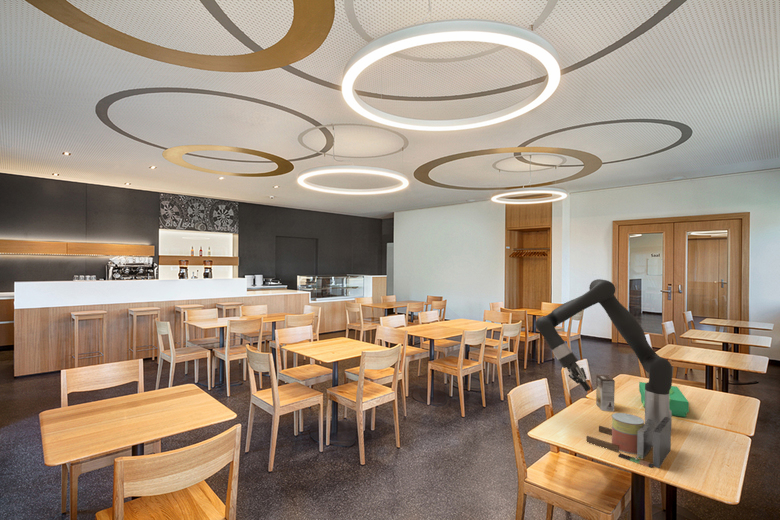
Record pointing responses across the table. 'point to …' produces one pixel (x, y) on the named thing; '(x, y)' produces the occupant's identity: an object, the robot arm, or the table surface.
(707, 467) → the table surface
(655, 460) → the frame
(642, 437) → the steel plate
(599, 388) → the coffee box
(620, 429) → the canned food
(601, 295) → the robot arm
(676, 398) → the green box
